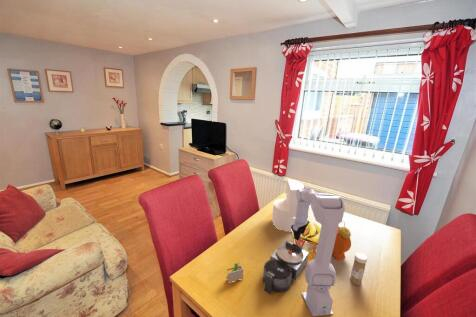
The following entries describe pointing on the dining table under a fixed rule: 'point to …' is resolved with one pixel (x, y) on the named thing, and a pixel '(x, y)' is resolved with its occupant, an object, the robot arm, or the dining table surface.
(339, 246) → the orange lumpy piece
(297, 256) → the lid
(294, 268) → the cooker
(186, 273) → the dining table surface
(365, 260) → the sprinkles bottle
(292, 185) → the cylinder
